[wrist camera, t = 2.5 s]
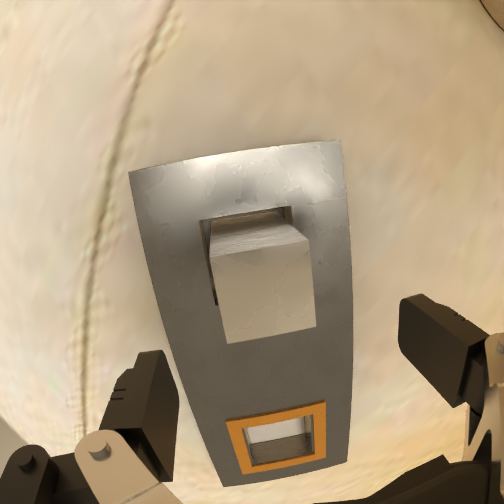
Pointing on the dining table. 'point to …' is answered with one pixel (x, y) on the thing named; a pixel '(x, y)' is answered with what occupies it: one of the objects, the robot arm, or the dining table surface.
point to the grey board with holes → (267, 348)
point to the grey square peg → (261, 276)
